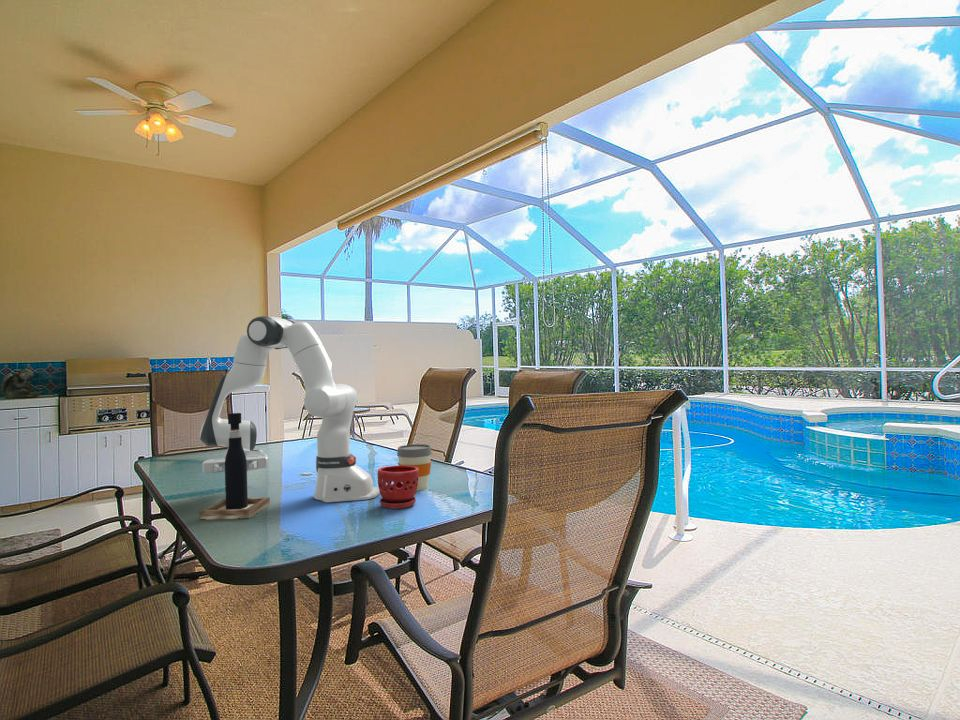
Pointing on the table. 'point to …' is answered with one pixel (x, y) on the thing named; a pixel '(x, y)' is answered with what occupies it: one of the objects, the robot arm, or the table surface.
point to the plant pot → (398, 486)
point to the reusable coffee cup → (416, 461)
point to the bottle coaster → (221, 512)
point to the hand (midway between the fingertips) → (235, 468)
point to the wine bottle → (235, 467)
